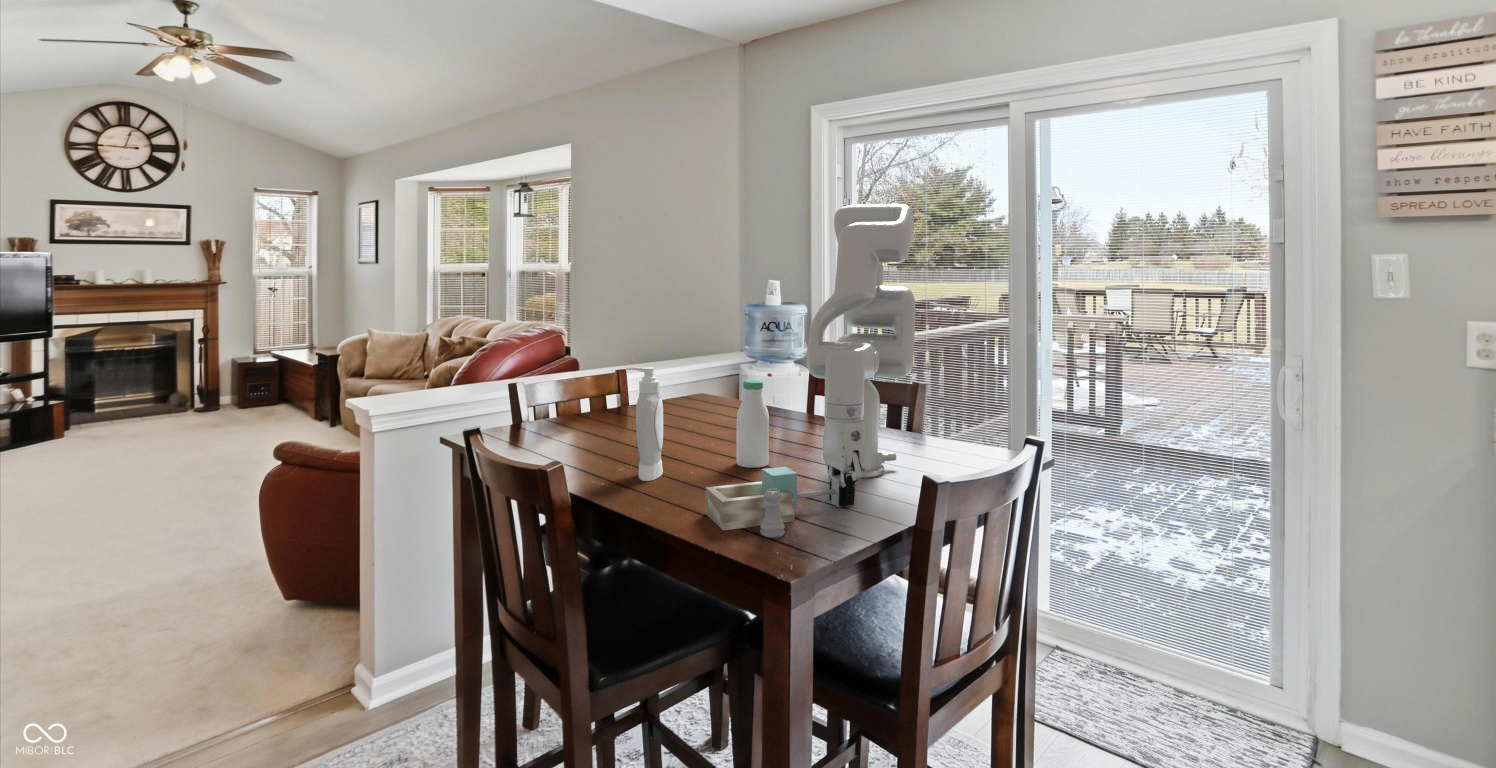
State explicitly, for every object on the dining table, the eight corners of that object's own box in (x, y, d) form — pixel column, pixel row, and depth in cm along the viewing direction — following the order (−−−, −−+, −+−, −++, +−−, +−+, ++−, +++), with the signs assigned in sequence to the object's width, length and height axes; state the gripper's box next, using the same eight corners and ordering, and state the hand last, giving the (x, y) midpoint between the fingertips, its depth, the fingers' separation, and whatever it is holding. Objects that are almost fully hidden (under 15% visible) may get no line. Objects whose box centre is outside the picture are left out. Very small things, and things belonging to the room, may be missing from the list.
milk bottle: (769, 468, 176) (769, 383, 173) (735, 468, 176) (736, 383, 173) (768, 460, 184) (769, 378, 181) (736, 460, 184) (737, 378, 181)
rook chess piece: (768, 527, 137) (769, 484, 136) (789, 532, 134) (790, 489, 133) (754, 535, 133) (755, 491, 132) (776, 540, 131) (776, 495, 130)
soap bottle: (635, 466, 177) (633, 363, 174) (668, 468, 177) (667, 363, 173) (620, 482, 165) (618, 371, 161) (655, 483, 164) (654, 371, 160)
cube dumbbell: (842, 499, 153) (843, 460, 151) (854, 507, 148) (855, 466, 147) (761, 509, 146) (762, 469, 145) (772, 517, 142) (772, 475, 140)
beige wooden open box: (772, 505, 150) (772, 479, 149) (794, 520, 141) (794, 493, 140) (705, 513, 145) (705, 487, 144) (723, 530, 135) (723, 502, 135)
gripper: (883, 417, 141) (880, 513, 144) (841, 402, 156) (838, 489, 159) (847, 420, 138) (844, 517, 141) (807, 405, 153) (806, 493, 156)
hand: (841, 501), depth 150 cm, fingers closed on cube dumbbell, 3 cm apart
